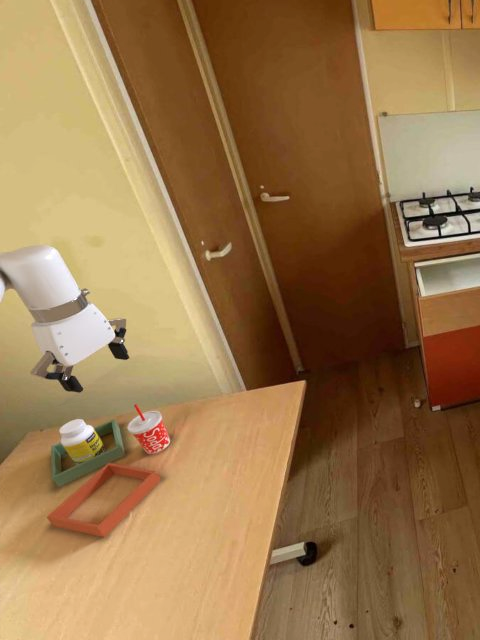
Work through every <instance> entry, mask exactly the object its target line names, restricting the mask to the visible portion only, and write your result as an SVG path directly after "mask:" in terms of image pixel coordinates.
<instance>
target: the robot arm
mask: <svg viewBox="0 0 480 640" xmlns="http://www.w3.org/2000/svg"><path fill="white" fill-rule="evenodd" d="M8 290H14V291H15V292H16V294H17V295H18V297H19V298H20V300H21V301H22V303H23V304H24V306H25V307H26V309H27V310H28V312H29V313H30V315H31V317H32V318H33V319H34V321H33V322H31V325H30V326H31V330H32V334H33V337H34V340H35V342H36V345H37V347H38V349H39V351H40V353H41V354H42V357H41V358H40V359H39V360H38V362H37V363H36V364H35V366H34V367H33V368H32V369H31V370H30V373H29V374H30V375H32V376H34V377H37V378H41V379H42V380H43V379H44V380H48V381H49V380H50V381H51V380H53V381H58V382H59V384H60V385H61V386H62V388H63V389H64V391H65V392H73V393H78V394H79V393H82V392H83V391H84V387H83V385H82V384H81V383H80V381H79V380H78V378H77V377H76V375H72V372H73V369H74V366H76V365H78V364H79V363H81V362H82V361H84V360H85V359H87V358H88V357H90V356H92V355H93V354H95V353H96V352H98V351H100V350H101V349H103V348H104V347H106V346H107V347H108V349H109V351H110V352H111V353H112V356H113V357H114V359H115V360H122V361H128V360H129V359H130V355H129V353H128V352H129V351H128V350H127V347H126V346H125V342H126V338H125V336H126V333H127V329H126V327H127V319H126V318H123V317H116V318H110V319H109V318H108V319H107V318H106V316H105V315H104V313H102V311H100V309H99V308H98V307H97V306H96V305H94V304H93V302H91V301H90V300H88V299H87V295H90V293H91V292H90V290H89V289H88V288H82V289H80V287H79V284H78V283H77V282H76V279H75V278H74V276H73V274H72V273H71V271H70V269H69V268H68V266H67V264H66V262H65V260H64V259H63V257H62V255H61V254H60V252H59V250H58V249H56V248H55V247H54V246H51V245H47V244H36V245H29V246H23V247H20V248H17V249H14V250H12V251H5V252H0V304H1V303H2V301H3V298H4V296H5V292H6V291H8ZM113 327H115V329H114V328H113ZM50 366H54V367H53V370H52V372H51V371H48V369H49V367H50Z"/></svg>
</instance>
